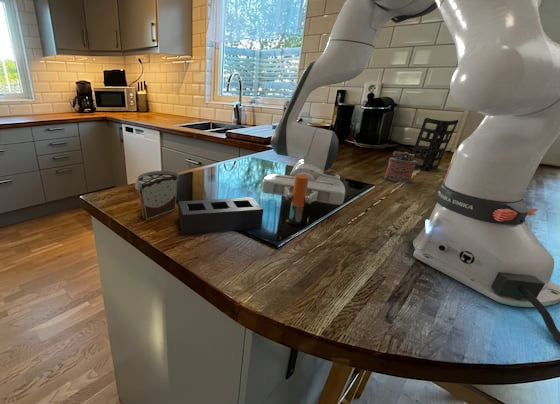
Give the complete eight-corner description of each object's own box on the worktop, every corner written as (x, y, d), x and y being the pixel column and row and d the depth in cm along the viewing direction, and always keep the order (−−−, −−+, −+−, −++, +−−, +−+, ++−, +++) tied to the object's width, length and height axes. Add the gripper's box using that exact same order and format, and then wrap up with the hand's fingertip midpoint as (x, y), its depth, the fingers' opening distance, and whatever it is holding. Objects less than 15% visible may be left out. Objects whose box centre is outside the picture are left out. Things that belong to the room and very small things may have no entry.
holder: (432, 165, 124) (451, 116, 114) (443, 172, 118) (464, 121, 108) (404, 164, 125) (421, 116, 115) (413, 171, 119) (432, 121, 109)
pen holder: (261, 228, 71) (263, 209, 69) (182, 234, 67) (182, 214, 65) (250, 214, 77) (252, 197, 75) (178, 219, 74) (178, 201, 72)
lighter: (410, 180, 106) (419, 153, 102) (410, 183, 103) (419, 155, 99) (384, 176, 110) (391, 149, 106) (383, 179, 107) (391, 151, 103)
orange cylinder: (303, 224, 73) (311, 178, 68) (291, 225, 72) (299, 178, 68) (297, 219, 76) (304, 174, 71) (286, 219, 75) (293, 174, 70)
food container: (165, 201, 84) (164, 167, 80) (179, 207, 80) (179, 172, 76) (127, 213, 76) (124, 176, 72) (141, 221, 72) (138, 183, 68)
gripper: (268, 165, 85) (256, 179, 73) (346, 176, 77) (347, 193, 66) (265, 186, 87) (254, 203, 76) (341, 198, 80) (341, 219, 68)
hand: (298, 198), depth 71 cm, fingers closed on orange cylinder, 3 cm apart
